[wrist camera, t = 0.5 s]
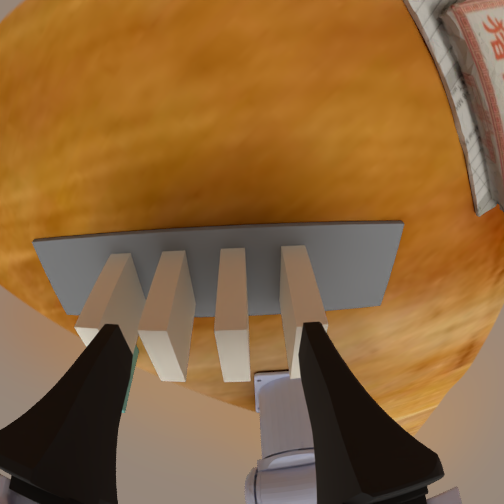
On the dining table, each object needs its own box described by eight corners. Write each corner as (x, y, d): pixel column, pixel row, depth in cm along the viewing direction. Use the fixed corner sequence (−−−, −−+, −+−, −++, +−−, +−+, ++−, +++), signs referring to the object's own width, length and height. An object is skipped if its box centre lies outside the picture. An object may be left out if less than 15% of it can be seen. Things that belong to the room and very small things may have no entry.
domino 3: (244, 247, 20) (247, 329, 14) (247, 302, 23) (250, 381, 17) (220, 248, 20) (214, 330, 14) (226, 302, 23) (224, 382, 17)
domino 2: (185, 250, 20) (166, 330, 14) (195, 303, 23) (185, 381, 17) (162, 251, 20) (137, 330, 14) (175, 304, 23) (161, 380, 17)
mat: (378, 302, 24) (380, 305, 24) (68, 311, 24) (67, 314, 24) (401, 220, 20) (404, 223, 19) (34, 239, 19) (32, 242, 19)
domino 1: (130, 252, 20) (97, 328, 14) (147, 304, 23) (126, 378, 17) (110, 253, 20) (74, 327, 14) (129, 304, 23) (105, 376, 17)
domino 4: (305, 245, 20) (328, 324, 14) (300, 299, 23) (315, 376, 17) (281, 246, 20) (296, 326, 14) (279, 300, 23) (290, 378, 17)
